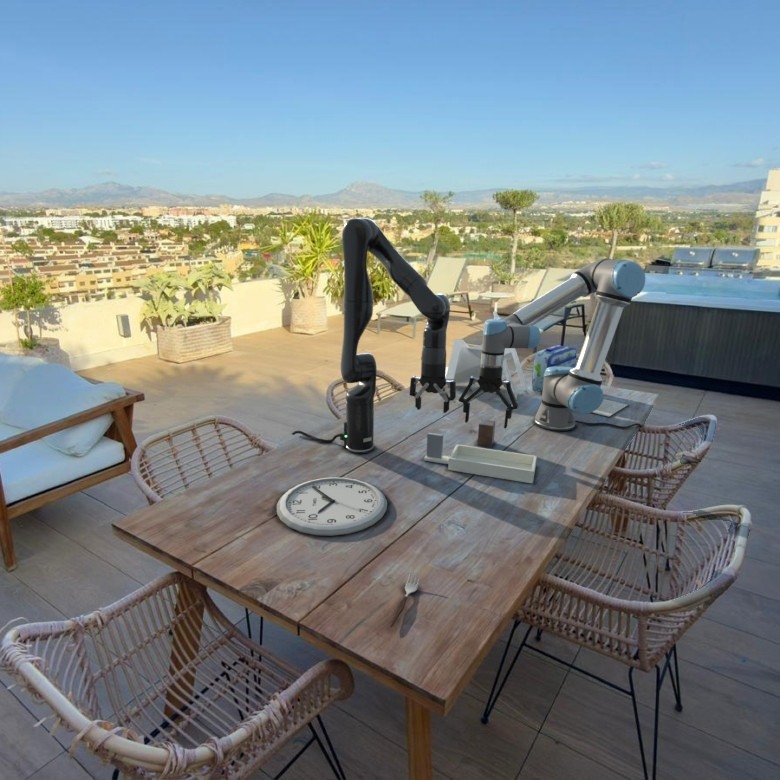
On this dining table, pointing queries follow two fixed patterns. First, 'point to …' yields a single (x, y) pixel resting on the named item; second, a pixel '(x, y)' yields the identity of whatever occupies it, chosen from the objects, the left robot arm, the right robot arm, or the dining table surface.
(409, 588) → the fork
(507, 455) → the tray
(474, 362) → the white plastic object
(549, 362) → the lunch box
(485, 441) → the walnut block
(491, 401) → the dining table surface
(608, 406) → the invitation card
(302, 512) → the wall clock
